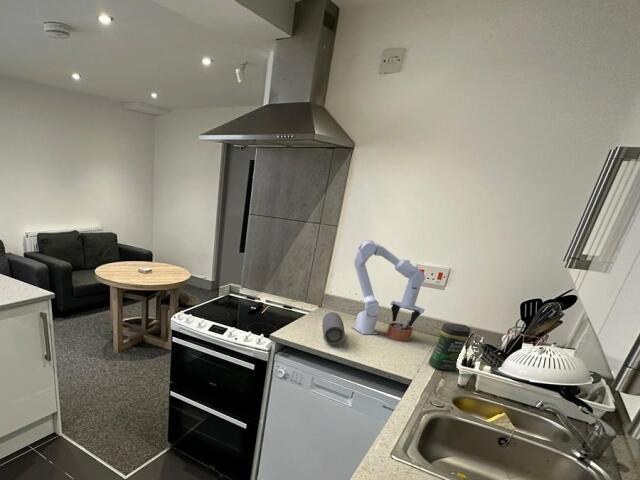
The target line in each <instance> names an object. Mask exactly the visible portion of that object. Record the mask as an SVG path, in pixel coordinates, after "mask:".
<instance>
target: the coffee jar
mask: <svg viewBox="0 0 640 480" xmlns="http://www.w3.org/2000/svg"><path fill="white" fill-rule="evenodd" d="M471 332H472V330H471V327H469V326H467V325H466V324H461V323H459V324H458V323H451V322H448V323H447V322H445V323H443V325H442V327H441V328H440V331H439V337H438V341H437V342H436V345H435V347H434V349H433V351H432V353H431V355H430V357H429V360H428V364H429V365H430V367H433V368H435V369H437V370H441V371H449V372H450V371H451V372H455V371H456V370H457V368H456V362H457V359H458V357H459V354H460V353H461V354H462V351H463V347H464V345H465V343H466V342H467V341H468V340H469V338H470V335H471ZM461 354H460V355H461Z"/></svg>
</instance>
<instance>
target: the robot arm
mask: <svg viewBox="0 0 640 480" xmlns="http://www.w3.org/2000/svg"><path fill="white" fill-rule="evenodd" d="M372 256H375V257H376V256H377V257H382V258H383V259H385V260H387V262H389V263H391V264H392V265H394V269H395V271H397V272H398V273H399V274H400V275H402V276H403V277H404V278H406V279H407V278H408V281H407V284H406V286H405V289H404V293H403V296H402V300H401V301H396V300H391V301H390V306H391V307H390V308H391V314H392V320H391V321H392V323H395V322H396V321H397V318H398V315H399V312H400V310H401V308H402V309H405V310H409V311H412V312H411V315H410V320H409V321H410V323H409V325H408V326H410V327H412V326H413V325H414V323H415V321H416V320H417V319H418V317H420V315H421V314H424V312H425V308H422V307H420V306H417V305H416V303H417V299H418V297H419V294H420V290H421V286H422V284H423V283H424V282H425V280H426V276H425V273H424V272H423V271H422V270H421V269H419V267H418V266H415V265H414V264H412V263H411V261H410V260H409V259H405V258H402V259H401V258H400V259H399V257H397V256H396V255H395V254H393V252H391V251H389V250H388V249H387V248H386V247H384V246H383V245H381V244H379V243H377V242H374V240H372V239H365V240H364V241H362V243H360V245H359V246H358V249H357V252H356V254H355V257H354V259H353V264H354V268H355V271H356V273H357V278H358V281H359V282H358V283H359V285H360V288H361V289H360V290H361V292H362V296H363V299H364V310H363V311H360V312H359V313H358V314H357V315H356V320H355V324H354V326H352V329H355V330H356V331H358V332H359V333H360V334H361V335H378V332H376V331H375V329H376V325H377V321H378V317H379V314H380V311H381V306H380V305H379V301H378V300H377V299H376V297H375V294H374V290H373V286H372V283H371V280H370V276H369V272H368V269H367V266H366V263H367V261H368V260H369V258H371V257H372Z"/></svg>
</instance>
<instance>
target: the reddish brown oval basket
mask: <svg viewBox="0 0 640 480" xmlns="http://www.w3.org/2000/svg"><path fill="white" fill-rule="evenodd" d="M396 324H400V325H401V327H402V326H403V324H404V323H399V322H389V323H388V325H387V327H386V331H385V336H386V337H387V338H389V339H391V340H394V341H398V342H410V341H411V339H412V335H413V333H414V329H415V328H413V327H412V326H409V325H408V326H407V327H406V329H403V330H401V329H397V328H394V327H393V326H394V325H396Z"/></svg>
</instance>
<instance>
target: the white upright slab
mask: <svg viewBox="0 0 640 480" xmlns="http://www.w3.org/2000/svg"><path fill="white" fill-rule="evenodd" d="M409 323H410V320H408V319H407V320H406V321H405V322H404V323H402V324H403V326H402V327H401V325H400V324H396V325H394V326H393V327H394V328H397V329H401V330H403V329H406V327H407V326H409Z"/></svg>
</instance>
